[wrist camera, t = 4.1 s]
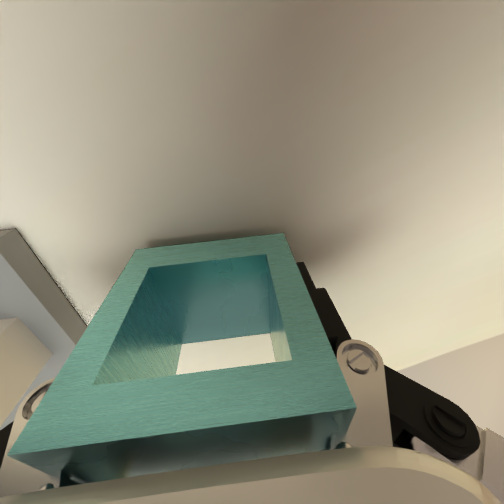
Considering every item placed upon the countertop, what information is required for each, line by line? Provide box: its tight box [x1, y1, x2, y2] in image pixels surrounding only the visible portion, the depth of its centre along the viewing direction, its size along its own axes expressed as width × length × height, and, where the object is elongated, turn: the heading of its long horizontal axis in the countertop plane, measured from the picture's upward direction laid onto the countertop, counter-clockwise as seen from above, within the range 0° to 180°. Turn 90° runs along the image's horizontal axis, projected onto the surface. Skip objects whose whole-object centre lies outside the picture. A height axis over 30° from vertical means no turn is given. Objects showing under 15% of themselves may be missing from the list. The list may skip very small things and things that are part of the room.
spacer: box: [7, 233, 357, 484], centre depth 9 cm, size 5×7×7 cm
